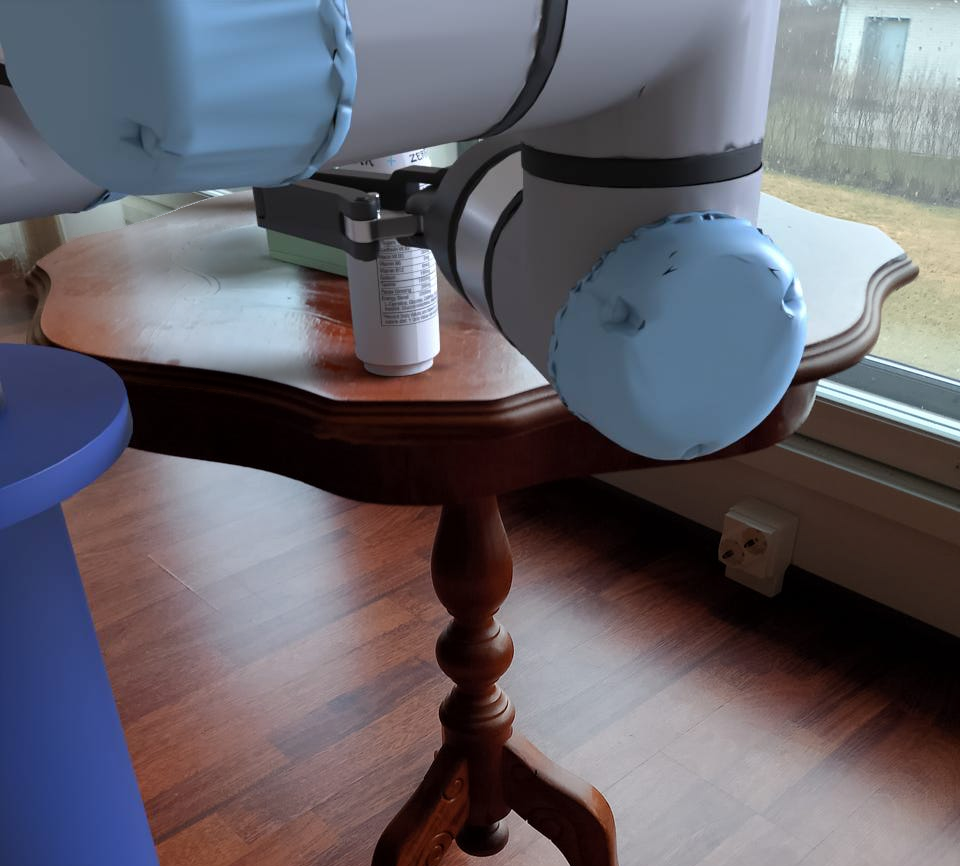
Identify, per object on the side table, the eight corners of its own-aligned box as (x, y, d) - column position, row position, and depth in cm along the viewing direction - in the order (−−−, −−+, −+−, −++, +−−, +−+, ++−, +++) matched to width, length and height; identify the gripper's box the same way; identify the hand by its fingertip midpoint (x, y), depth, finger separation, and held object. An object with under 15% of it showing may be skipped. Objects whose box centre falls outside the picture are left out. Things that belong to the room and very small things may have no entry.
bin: (358, 279, 95) (350, 198, 91) (269, 257, 101) (259, 181, 97) (451, 250, 102) (448, 173, 98) (363, 231, 109) (357, 159, 105)
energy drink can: (414, 343, 80) (401, 124, 72) (456, 366, 76) (447, 136, 67) (342, 360, 77) (319, 135, 69) (381, 385, 73) (362, 148, 65)
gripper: (248, 369, 43) (205, 246, 60) (796, 299, 49) (615, 204, 66) (217, 171, 39) (180, 98, 56) (820, 119, 45) (621, 67, 62)
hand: (415, 155), depth 61 cm, fingers open, 13 cm apart
